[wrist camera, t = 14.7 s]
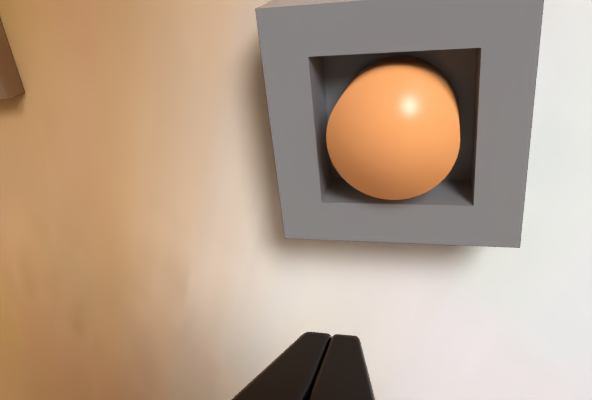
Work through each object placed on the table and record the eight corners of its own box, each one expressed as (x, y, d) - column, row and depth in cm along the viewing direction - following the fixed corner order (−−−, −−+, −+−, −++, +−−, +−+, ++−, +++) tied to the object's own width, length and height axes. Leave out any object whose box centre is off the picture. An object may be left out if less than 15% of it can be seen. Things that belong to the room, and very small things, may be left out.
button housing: (530, -25, 16) (544, -15, 14) (510, 205, 20) (519, 247, 17) (282, -4, 19) (255, 8, 16) (304, 200, 22) (285, 238, 20)
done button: (460, 52, 17) (462, 72, 15) (456, 168, 19) (458, 201, 16) (336, 58, 18) (321, 78, 16) (343, 168, 20) (331, 198, 18)
